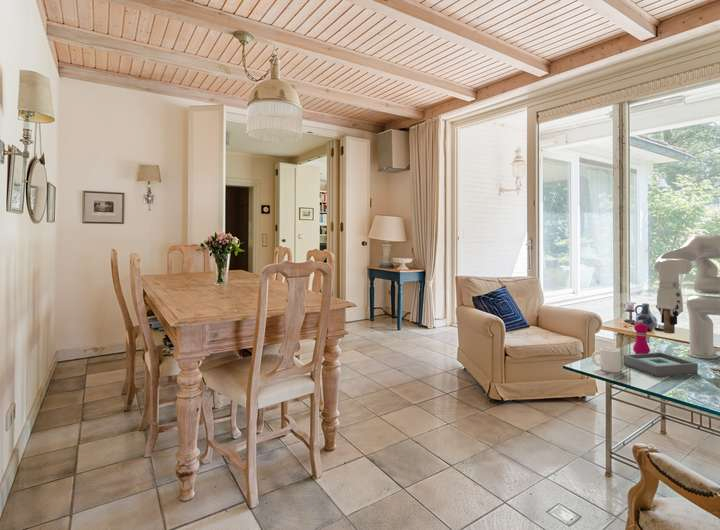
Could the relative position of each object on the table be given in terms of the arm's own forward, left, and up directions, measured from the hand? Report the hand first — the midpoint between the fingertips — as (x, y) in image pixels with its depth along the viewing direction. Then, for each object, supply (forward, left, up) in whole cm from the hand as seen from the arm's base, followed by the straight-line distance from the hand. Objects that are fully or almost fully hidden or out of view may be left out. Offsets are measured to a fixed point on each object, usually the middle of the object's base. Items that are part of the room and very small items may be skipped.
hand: (669, 323), depth 190 cm
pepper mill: (-2, -19, -22) cm, 29 cm away
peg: (0, 0, -4) cm, 4 cm away
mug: (+28, -5, -22) cm, 37 cm away
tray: (+5, 0, -22) cm, 23 cm away
